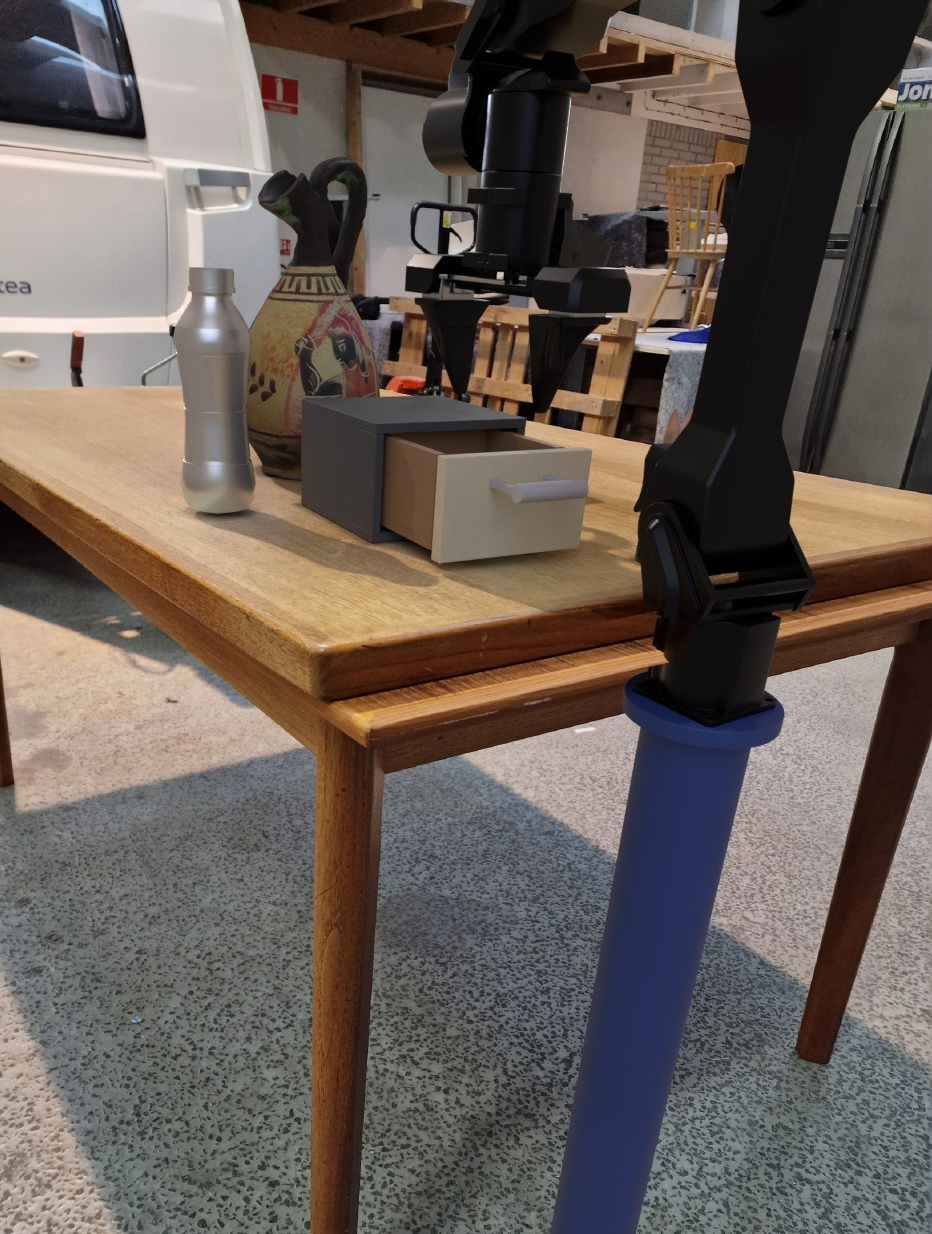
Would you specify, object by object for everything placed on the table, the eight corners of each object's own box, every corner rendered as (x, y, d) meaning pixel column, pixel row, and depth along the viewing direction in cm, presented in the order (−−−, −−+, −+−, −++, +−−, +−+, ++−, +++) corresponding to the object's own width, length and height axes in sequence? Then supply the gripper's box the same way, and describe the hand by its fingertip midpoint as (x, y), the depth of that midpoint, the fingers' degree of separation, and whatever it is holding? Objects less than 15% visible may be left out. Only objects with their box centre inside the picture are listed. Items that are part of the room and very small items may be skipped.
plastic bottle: (270, 514, 88) (269, 271, 79) (209, 524, 84) (199, 268, 75) (228, 500, 92) (222, 267, 83) (167, 510, 88) (154, 265, 79)
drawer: (616, 562, 75) (631, 460, 72) (471, 580, 69) (480, 470, 66) (487, 510, 89) (495, 422, 86) (358, 521, 83) (361, 427, 80)
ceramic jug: (294, 494, 96) (295, 141, 82) (207, 466, 106) (196, 148, 92) (416, 476, 106) (435, 161, 93) (327, 452, 116) (332, 165, 103)
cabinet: (515, 529, 87) (526, 418, 83) (371, 543, 80) (376, 423, 76) (432, 494, 98) (438, 395, 94) (300, 504, 92) (301, 398, 88)
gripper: (700, 182, 67) (659, 416, 74) (512, 181, 80) (493, 381, 87) (590, 170, 60) (557, 427, 68) (406, 171, 73) (395, 387, 81)
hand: (498, 403), depth 76 cm, fingers open, 9 cm apart
